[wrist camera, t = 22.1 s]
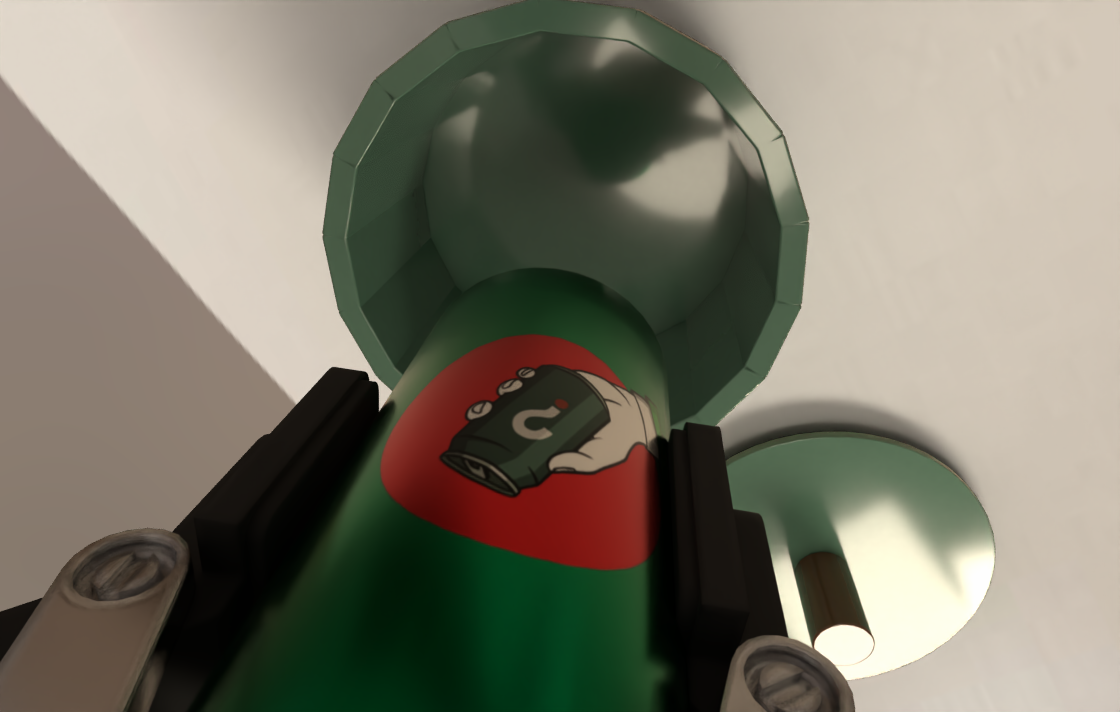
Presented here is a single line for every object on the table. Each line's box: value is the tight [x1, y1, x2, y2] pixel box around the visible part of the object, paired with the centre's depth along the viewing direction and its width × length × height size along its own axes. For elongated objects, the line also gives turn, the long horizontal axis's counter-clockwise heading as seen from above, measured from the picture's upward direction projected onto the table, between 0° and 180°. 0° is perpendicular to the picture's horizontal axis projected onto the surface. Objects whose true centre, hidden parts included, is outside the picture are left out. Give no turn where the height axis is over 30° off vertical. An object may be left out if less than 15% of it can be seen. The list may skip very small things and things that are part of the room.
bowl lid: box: [726, 431, 995, 680], centre depth 33 cm, size 16×16×6 cm
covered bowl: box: [323, 0, 809, 430], centre depth 25 cm, size 15×15×8 cm
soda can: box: [185, 267, 690, 712], centre depth 10 cm, size 5×5×12 cm
